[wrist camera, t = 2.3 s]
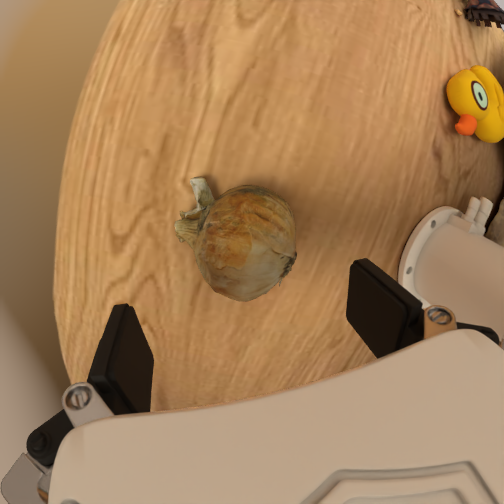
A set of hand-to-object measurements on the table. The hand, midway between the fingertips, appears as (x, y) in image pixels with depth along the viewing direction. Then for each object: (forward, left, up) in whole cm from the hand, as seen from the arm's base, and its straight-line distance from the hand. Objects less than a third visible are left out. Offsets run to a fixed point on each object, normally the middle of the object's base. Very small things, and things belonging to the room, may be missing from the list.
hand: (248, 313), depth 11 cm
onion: (-2, +4, -7) cm, 8 cm away
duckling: (-25, +23, -8) cm, 35 cm away
